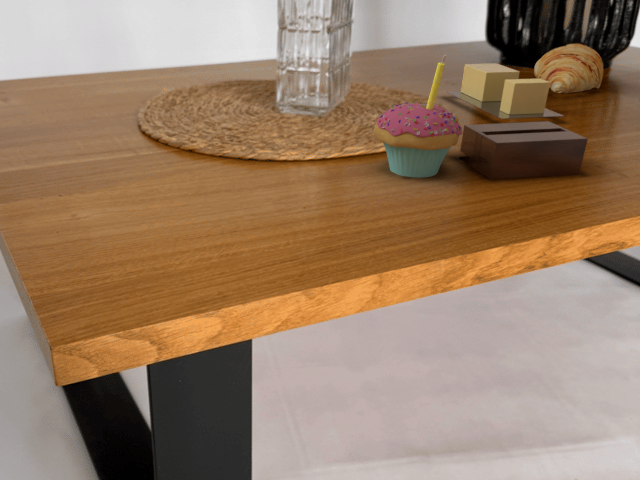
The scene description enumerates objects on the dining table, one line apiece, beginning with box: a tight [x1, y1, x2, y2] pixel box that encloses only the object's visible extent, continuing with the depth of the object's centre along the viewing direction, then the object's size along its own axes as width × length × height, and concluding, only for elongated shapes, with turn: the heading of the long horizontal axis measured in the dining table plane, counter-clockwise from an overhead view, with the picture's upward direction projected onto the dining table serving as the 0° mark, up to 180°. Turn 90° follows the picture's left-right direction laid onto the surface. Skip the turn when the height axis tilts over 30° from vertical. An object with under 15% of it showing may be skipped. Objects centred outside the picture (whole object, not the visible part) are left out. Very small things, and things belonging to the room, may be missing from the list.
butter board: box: [446, 62, 565, 120], centre depth 94 cm, size 16×9×5 cm, turn 11°
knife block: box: [458, 120, 589, 180], centre depth 72 cm, size 10×7×4 cm
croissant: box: [533, 42, 605, 94], centre depth 109 cm, size 21×10×8 cm, turn 154°
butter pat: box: [500, 78, 550, 115], centre depth 90 cm, size 2×5×4 cm, turn 102°
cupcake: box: [373, 54, 463, 179], centre depth 69 cm, size 9×8×12 cm
